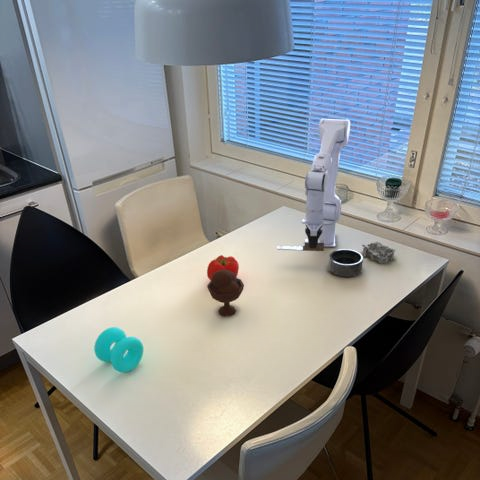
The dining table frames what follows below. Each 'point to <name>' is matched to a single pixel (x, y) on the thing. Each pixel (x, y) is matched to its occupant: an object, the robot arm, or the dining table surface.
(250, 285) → the dining table surface
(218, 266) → the tomato
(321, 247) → the knife
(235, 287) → the ice cream bowl
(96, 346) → the donuts
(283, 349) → the dining table surface
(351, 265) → the bowl
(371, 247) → the egg carton
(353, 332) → the dining table surface
